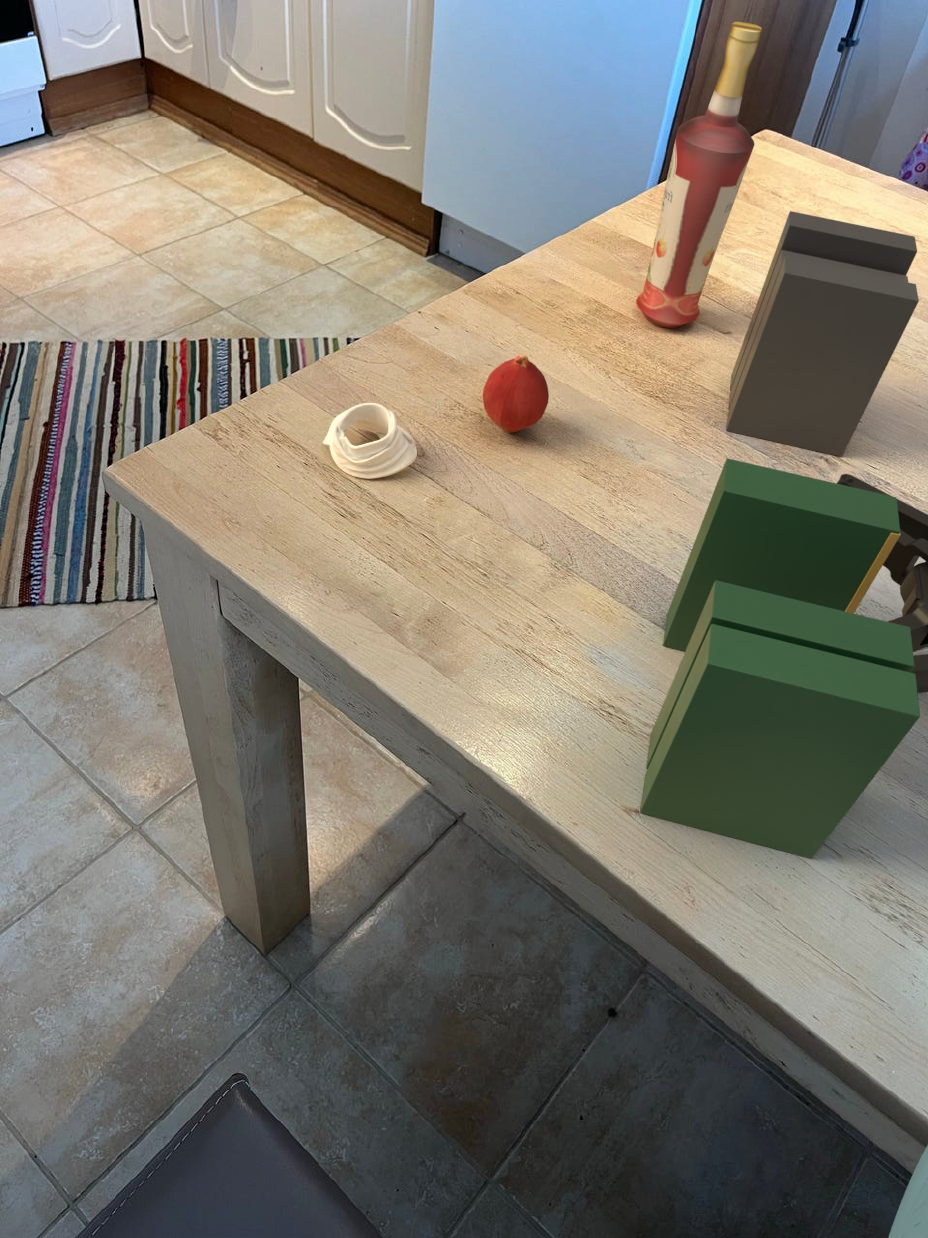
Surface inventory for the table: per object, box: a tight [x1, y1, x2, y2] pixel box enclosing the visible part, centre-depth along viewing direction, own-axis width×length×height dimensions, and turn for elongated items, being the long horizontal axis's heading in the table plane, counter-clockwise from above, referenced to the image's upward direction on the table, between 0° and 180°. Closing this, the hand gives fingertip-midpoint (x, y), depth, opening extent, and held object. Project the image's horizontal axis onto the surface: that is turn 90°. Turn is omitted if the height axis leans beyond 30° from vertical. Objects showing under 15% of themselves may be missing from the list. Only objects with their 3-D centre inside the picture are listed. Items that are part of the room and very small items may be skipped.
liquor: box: [636, 21, 763, 329], centre depth 93 cm, size 7×7×28 cm
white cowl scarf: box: [322, 402, 418, 480], centre depth 80 cm, size 8×7×5 cm
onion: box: [482, 353, 550, 434], centre depth 84 cm, size 6×6×8 cm
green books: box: [639, 580, 921, 859], centre depth 57 cm, size 6×11×15 cm, turn 76°
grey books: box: [725, 210, 920, 458], centre depth 86 cm, size 10×11×17 cm
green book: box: [662, 458, 900, 652], centre depth 65 cm, size 4×11×15 cm, turn 76°
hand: (730, 549), depth 65 cm, fingers open, 13 cm apart
